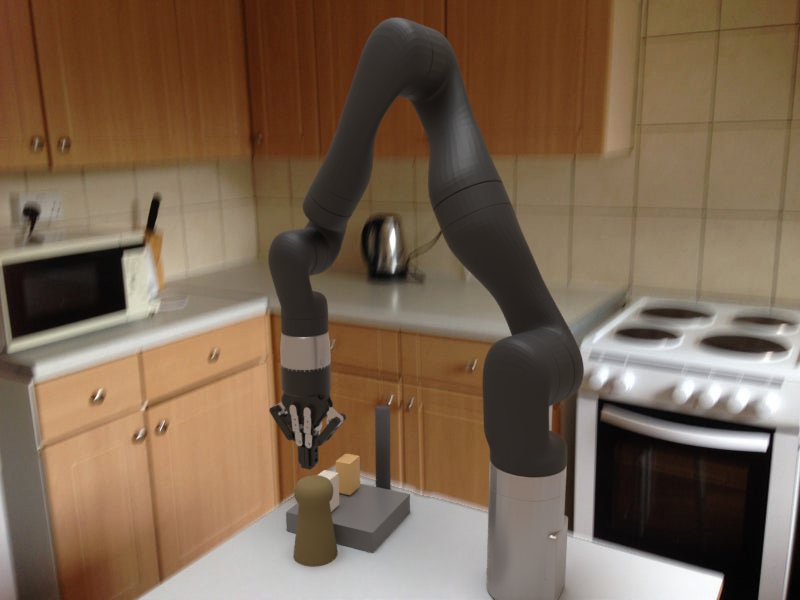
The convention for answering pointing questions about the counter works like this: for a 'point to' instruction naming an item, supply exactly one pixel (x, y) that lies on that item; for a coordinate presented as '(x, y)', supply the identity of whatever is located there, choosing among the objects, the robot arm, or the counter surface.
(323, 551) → the olive knobbed post
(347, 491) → the block
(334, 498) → the cream rectangular block
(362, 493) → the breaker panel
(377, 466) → the post
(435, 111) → the robot arm
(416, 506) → the counter surface
